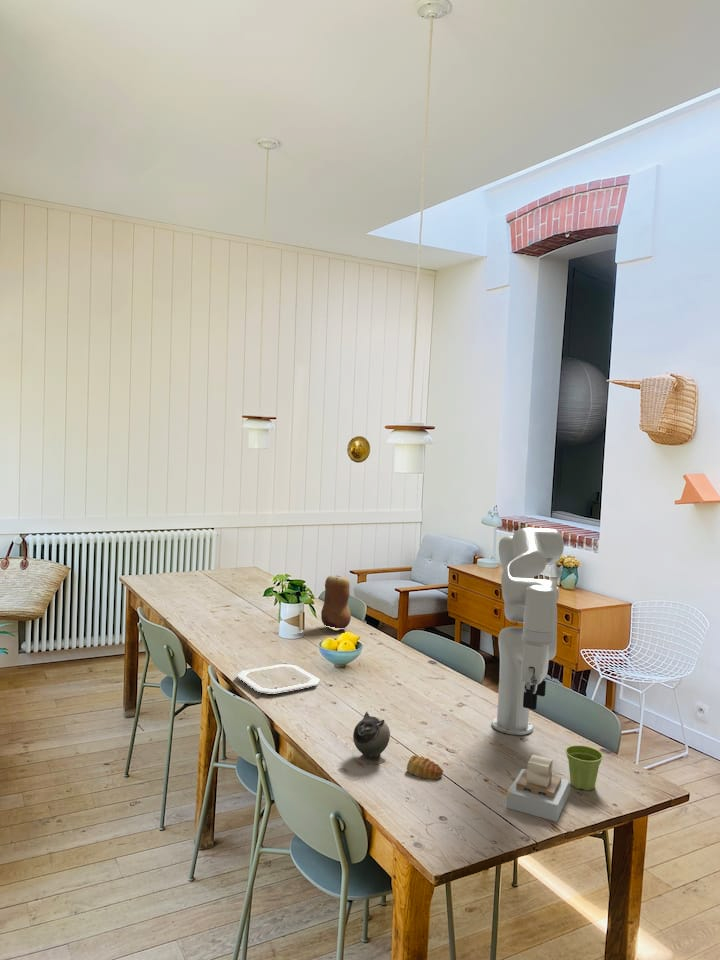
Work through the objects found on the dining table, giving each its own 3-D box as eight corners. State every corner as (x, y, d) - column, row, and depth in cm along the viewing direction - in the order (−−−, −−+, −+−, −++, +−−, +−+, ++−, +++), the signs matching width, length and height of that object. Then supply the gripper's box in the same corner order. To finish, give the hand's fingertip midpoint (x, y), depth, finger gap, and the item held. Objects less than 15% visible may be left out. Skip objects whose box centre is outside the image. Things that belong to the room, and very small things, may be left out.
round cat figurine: (345, 761, 194) (379, 770, 189) (346, 718, 194) (380, 726, 189) (363, 748, 203) (396, 756, 198) (364, 706, 203) (396, 714, 198)
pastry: (446, 773, 190) (447, 759, 189) (436, 784, 184) (436, 769, 184) (415, 764, 194) (415, 750, 194) (403, 774, 189) (404, 760, 188)
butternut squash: (353, 627, 330) (356, 574, 328) (345, 635, 317) (347, 579, 315) (325, 624, 334) (327, 571, 332) (316, 631, 321) (318, 576, 319)
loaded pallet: (525, 774, 182) (526, 749, 182) (560, 783, 178) (562, 758, 178) (516, 788, 174) (517, 763, 174) (553, 798, 170) (554, 772, 170)
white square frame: (325, 688, 250) (325, 682, 250) (262, 700, 236) (262, 694, 236) (291, 667, 271) (291, 662, 271) (231, 678, 257) (231, 672, 256)
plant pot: (580, 796, 180) (582, 763, 179) (556, 779, 188) (558, 747, 188) (609, 790, 184) (611, 758, 183) (584, 774, 192) (585, 743, 192)
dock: (521, 783, 185) (522, 768, 185) (568, 796, 180) (569, 780, 180) (506, 807, 173) (507, 791, 173) (556, 821, 167) (557, 805, 167)
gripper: (531, 624, 187) (527, 687, 189) (514, 641, 172) (510, 710, 173) (560, 629, 184) (556, 693, 185) (545, 647, 168) (541, 717, 170)
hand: (534, 701), depth 179 cm, fingers open, 9 cm apart
